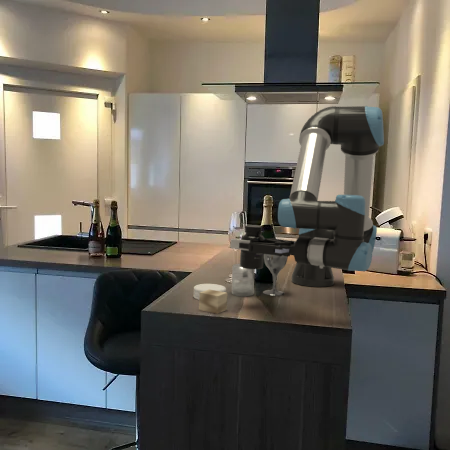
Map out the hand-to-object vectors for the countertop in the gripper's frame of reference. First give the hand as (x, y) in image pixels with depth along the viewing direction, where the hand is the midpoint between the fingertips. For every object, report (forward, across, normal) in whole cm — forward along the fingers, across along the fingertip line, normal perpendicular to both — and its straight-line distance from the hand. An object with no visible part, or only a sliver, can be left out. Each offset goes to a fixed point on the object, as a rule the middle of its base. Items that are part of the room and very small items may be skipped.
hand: (237, 242), depth 144 cm
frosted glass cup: (+4, +11, -18) cm, 22 cm away
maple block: (+1, -11, -18) cm, 21 cm away
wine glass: (-4, +19, -19) cm, 27 cm away
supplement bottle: (-5, 0, -7) cm, 9 cm away
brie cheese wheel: (+9, +1, -19) cm, 21 cm away
